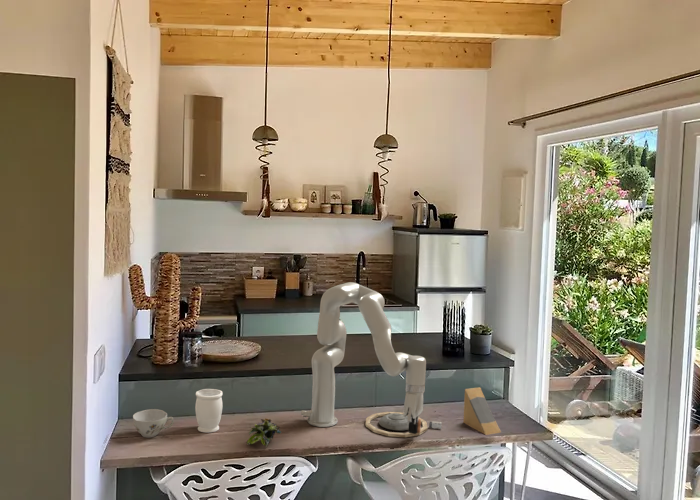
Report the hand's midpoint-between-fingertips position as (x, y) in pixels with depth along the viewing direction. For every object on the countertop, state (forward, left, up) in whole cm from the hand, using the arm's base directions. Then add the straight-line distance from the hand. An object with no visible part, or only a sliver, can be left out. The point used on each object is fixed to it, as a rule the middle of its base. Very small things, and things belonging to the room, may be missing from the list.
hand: (412, 432), depth 239 cm
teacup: (-100, -13, -3) cm, 101 cm away
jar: (-81, -4, -3) cm, 82 cm away
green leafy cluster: (-56, -15, -3) cm, 58 cm away
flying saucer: (-6, +13, -3) cm, 15 cm away
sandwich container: (+30, +18, -3) cm, 35 cm away
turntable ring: (-6, +13, -3) cm, 15 cm away
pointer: (+10, +13, -3) cm, 17 cm away
